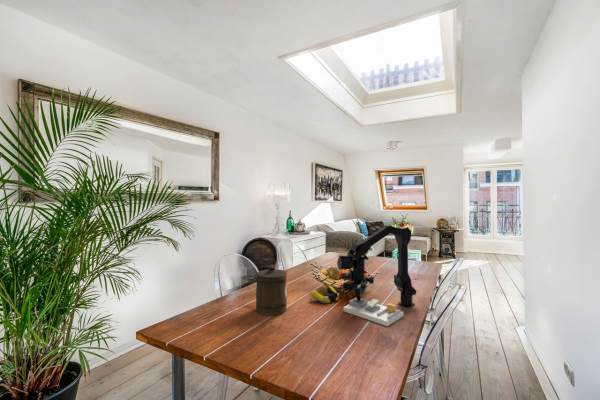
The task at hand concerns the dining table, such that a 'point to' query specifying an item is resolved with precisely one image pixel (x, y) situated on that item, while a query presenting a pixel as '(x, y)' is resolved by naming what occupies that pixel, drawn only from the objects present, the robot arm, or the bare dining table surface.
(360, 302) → the push button
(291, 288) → the dining table surface
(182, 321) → the dining table surface
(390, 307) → the orange rectangular block
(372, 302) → the rocker
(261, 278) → the wooden container
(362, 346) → the dining table surface
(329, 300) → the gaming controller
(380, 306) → the panel
